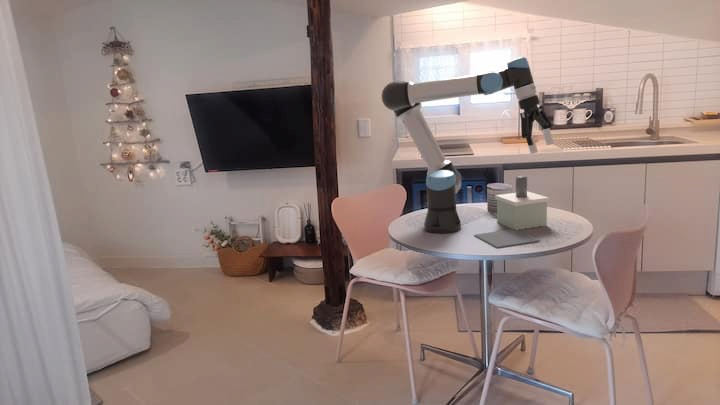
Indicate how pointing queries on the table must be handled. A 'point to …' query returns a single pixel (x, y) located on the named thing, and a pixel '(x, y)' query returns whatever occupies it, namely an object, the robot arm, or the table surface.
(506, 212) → the box
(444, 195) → the robot arm
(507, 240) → the mat
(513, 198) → the lid
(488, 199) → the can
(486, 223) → the table surface
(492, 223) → the table surface
